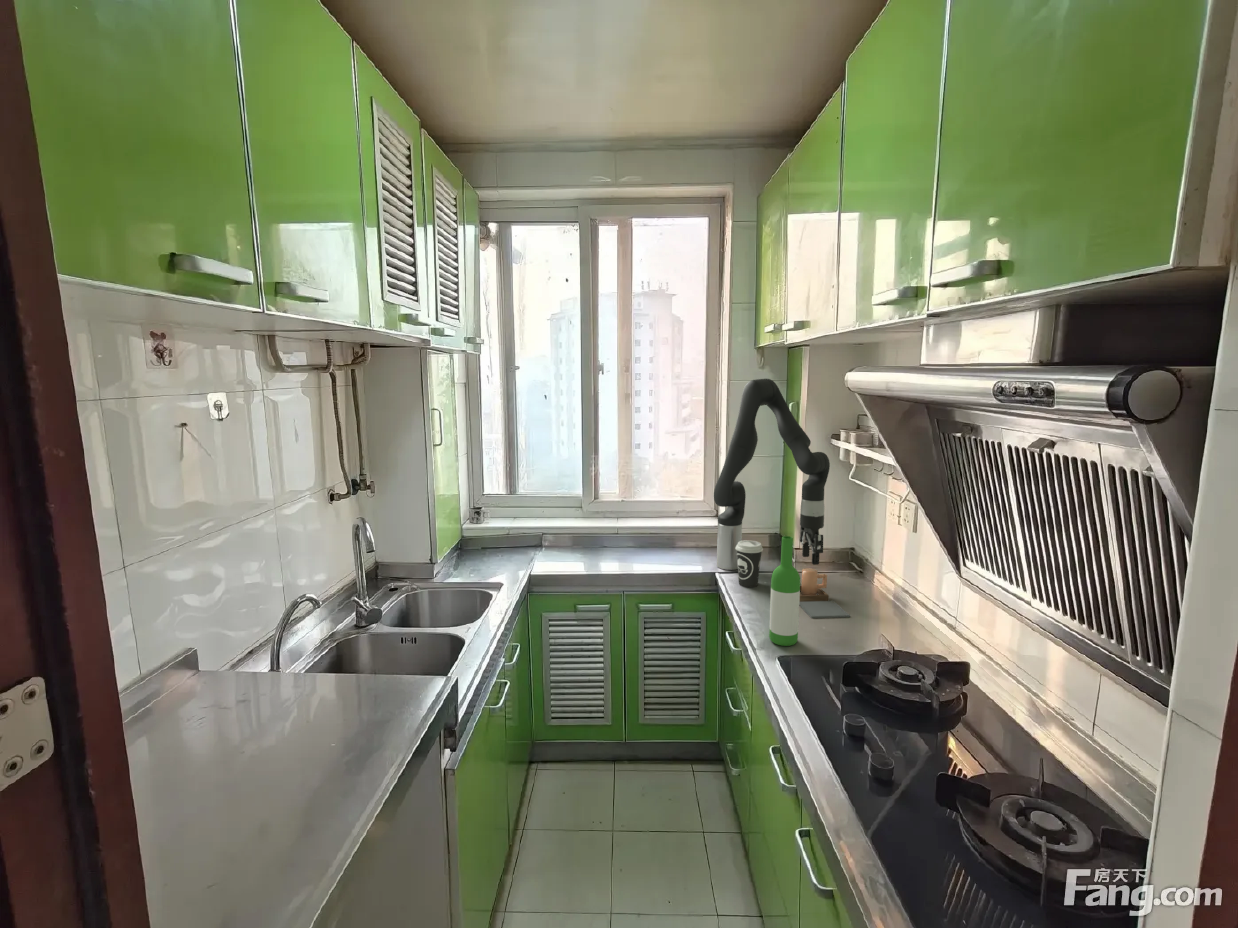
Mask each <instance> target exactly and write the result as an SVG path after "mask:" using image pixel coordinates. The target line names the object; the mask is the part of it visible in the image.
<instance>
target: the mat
mask: <svg viewBox="0 0 1238 928" xmlns="http://www.w3.org/2000/svg"><path fill="white" fill-rule="evenodd" d="M799 605H800V606H799V608H801V609H802V610H803V611H804V612H805V613H806V614H807V615H808V616H809V617H810V618H811V619H829V618H833V619H834V618H850V617H851V615H850V614H849V613H848V612H847V611H846V610H844V608H842V607H841V606H840V605H839V604H838V603H837V602H836V601H834V600H828V601H806V602H799Z"/></svg>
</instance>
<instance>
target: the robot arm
mask: <svg viewBox="0 0 1238 928" xmlns="http://www.w3.org/2000/svg"><path fill="white" fill-rule="evenodd" d="M741 394H742V395H741V399H740V400H741V401H740V403H739V404H740V405H739V410H738V411H739V412H738V416H737V419H736V423H735V427H734V430H733V434H732V437H731V440H730V443H729V447H728V450H727V451H728V452H727V455H726V458H725V460H724V463H723V466H722V469H721V471H720V474H719V477H718V478H717V481H716V483H715V486H714V490H713V501H714V503H715V505H716V506H718V507H721V508H725V507H727V508H726V509H725V510H724V511H723V512H722V513H720V514H718V516H717V541H716V544H717V545H716V546H717V547H716V567H717V568H718V569H722V570H728V571H731V570H732V571H735V570H738V561H737V550H736V549H735V548H736V545H737V544H738V542H739V541H743V540H742V537H743V519H744V517H745V511H746V510H745V509H746V499H747V498H746V497H747V496H746V495H747V494H746V489H745V486H744V485H743V482H740V481H738V480H737V481H735V480H736V478H737V477H738V475H740V473H741V472H742V471H743V470H744V469H745V468H746V467H747V466H748V464H749V463H750V462H751V461H752V459H753V457H754V454H755V452H756V449H757V446H758V441H759V438H758V437H759V435H758V432H757V428H756V417H757V414H758V411H759V408H760V407H761V406H767V407H768V408H769V409H770V410H771V411H772V413H773V414H774V417H775V420H776V423H777V429H778V433H779V434H780V437H781V438H782V440H783V441H784V443H785V445H786V446H787V447H788V448H789V450H791V453H792V456H793V458H794V461H795V464H796V466H797V468H798V469H799V471H801V472H802V473H803V474H805V475H808V479H807V480H806V481H804V482H803V483H802V486H801V500H800V507H799V508H800V512H799V526H800V530H799V543H801V546H802V548H801V549H802V551H801V552H802V553H801V554H802V555H801V556H802V557H803V558H808V557H809V558H810V550H811V552H812V553H811V564H812V565H817V566H818V565H819V564H820V554H823V553H824V534H820V532H819V530H820V529H823V528H824V526H825V487H826V484H827V480H828V477H829V473H830V466H831V465H830V464H831V463H830V459H829V456H828V455H827V454H826V453H825V452H822V451H815V452H812V451H811V449H810V448H809V447H810V446H811V440H810V438H809V436H808V434H807V433H806V432H805V431H804V429H803V428H802V427H801V426H800V424H799V423H798V421H797V420H796V418H795V417H794V415H793V413H792V411H791V409H790V406H788V404H787V401H786V400H785V398H784V396H783V394H782V391H781V390H780V388H779V386H778V385H777V383H776V382H775V381H774V380H773V379H771V378H758V379H757V378H756V379H751V380H749V381H748V382H747V383H746V384H745V385H744V387H743V389H742V393H741Z"/></svg>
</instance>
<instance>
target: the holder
mask: <svg viewBox="0 0 1238 928" xmlns="http://www.w3.org/2000/svg"><path fill="white" fill-rule="evenodd" d="M800 591H801V585H800ZM829 598H830V596H829V594H828V593H827V592H826V591H825V590H824V589H823V588H817V595H801V593H800V600H799V602H806V601H829Z"/></svg>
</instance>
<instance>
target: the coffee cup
mask: <svg viewBox="0 0 1238 928" xmlns="http://www.w3.org/2000/svg"><path fill="white" fill-rule="evenodd" d="M735 549H736V550H737V561H738V569H737V575H738V576H737V577H738V585H739V586H741V587H743V588H756V587H757V586H758V584H759V574H760V567H761V561H762V560H761V559H762V553H763V551H764V548H763V546H762V543H761V542H759V541H757V540H748V539H747V540H742V541H739V542H738V544H737V545H736V548H735Z"/></svg>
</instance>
